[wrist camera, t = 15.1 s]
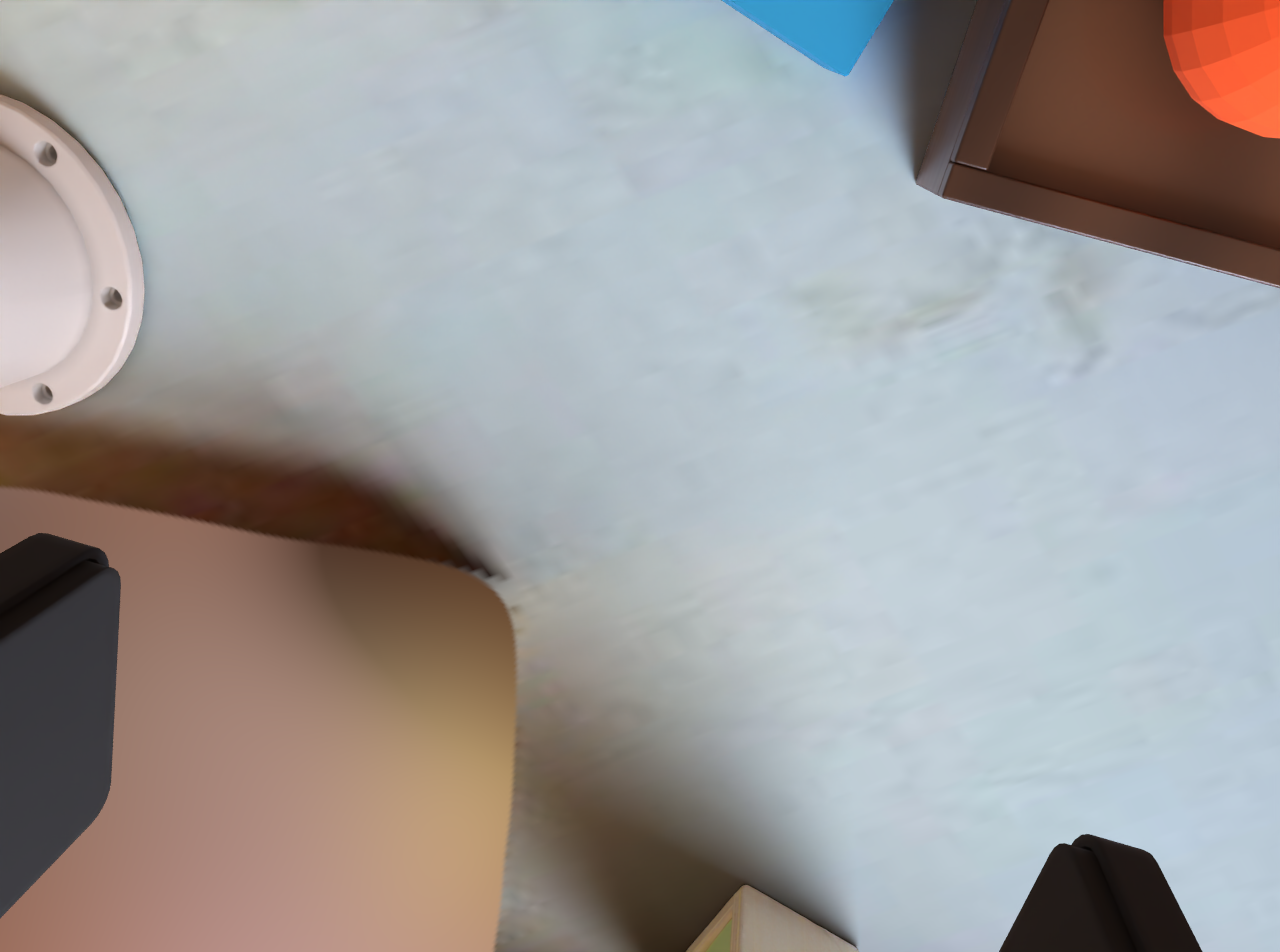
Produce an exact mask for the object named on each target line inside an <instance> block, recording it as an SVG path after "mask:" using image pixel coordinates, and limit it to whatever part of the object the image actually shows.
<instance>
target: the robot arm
mask: <svg viewBox="0 0 1280 952" xmlns="http://www.w3.org/2000/svg"><path fill="white" fill-rule="evenodd" d="M144 296H145V287H144V275H143V263H142V258H141V254H140V250H139V246H138V243H137V239H136V235H135V231H134V228H133V226H132V224H131V221H130V219H129V217H128V214H127V212H126V210H125V208H124V205H123V203H122V201H121V198H120V197H119V195H118V194H117V192H116V191H115V189H114V187H113V186H112V184H111V183H110V181H109V179H108V178H107V176H106V175H105V173H104V172H103V170H102V169H101V167H100V166H99V165H98V164H97V163H96V162H95V161H94V159H93V158H92V157H91V156H90V155H89V154H88V152H87V151H86V150H85V149H84V148H83V147H82V146H81V144H80V143H79V142H78V141H76V140H75V139H74V138H73V137H72V136H71V135H69V134H68V133H67V132H66V131H65V130H63V129H62V128H61V127H60V126H59V125H58V124H56V123H55V122H54V121H53V120H51V119H50V118H48V117H46V116H45V115H43V114H41V113H40V112H38V111H36V110H35V109H33V108H31V107H30V106H28V105H26V104H25V103H22V102H20V101H17V100H15V99H12V98H9V97H7V96H4V95H1V94H0V414H4V415H37V414H42V413H46V412H51V411H55V410H60V409H62V408H64V407H67V406H69V405H72V404H74V403H77V402H79V401H81V400H84V399H85V398H87V397H88V396H90V395H92V394H93V393H95V392H96V391H98V390H99V389H101V388H103V387H104V386H105V385H106V384H107V383H108V382H109V381H110V380H111V379H112V378H113V377H114V376H115V375H116V374H117V372H118V371H119V370H120V369H121V368H122V366H123V365H124V363H125V361H126V359H127V358H128V356H129V354H130V352H131V351H132V349H133V347H134V345H135V342H136V338H137V335H138V332H139V329H140V326H141V322H142V316H143V306H144ZM120 589H121V583H120V576H119V574H118V571H116V570H115V569H114V568H111V567H109V564H108V559H107V557H106V555H105V553H104V552H103V551H102V550H100V549H99V548H96V547H92V546H88V545H85V544H82V543H78V542H75V541H72V540H68V539H64V538H61V537H58V536H54V535H51V534H46V533H38V534H36V535H33V536H30V537H28V538H27V539H25V540H23V541H21V542H19V543H18V544H16V545H14V546H12V547H11V548H9V549H7V550H5V551H4V552H2V553H0V918H1V917H2V916H3V915H4V914H5V913H6V912H7V911H8V910H9V909H10V908H11V906H12V905H14V904H15V902H16V901H17V900H18V899H19V898H20V897H21V896H22V895H23V894H24V893H25V892H26V891H27V890H28V889H29V888H30V887H31V886H32V885H33V884H34V883H35V882H36V881H37V880H38V879H39V878H40V876H41V875H42V874H43V873H44V872H45V871H46V870H47V869H48V868H49V867H50V866H51V865H52V864H53V863H54V862H55V861H56V860H57V859H58V858H59V857H60V856H61V855H62V854H63V853H64V852H65V850H66V849H67V848H68V847H69V846H70V845H71V844H72V843H73V842H74V841H75V840H76V839H77V838H78V837H79V836H80V835H81V834H82V833H83V832H84V831H85V830H86V829H87V828H88V827H89V826H90V824H91V823H92V822H93V821H94V820H95V818H96V817H97V816H98V814H99V813H100V811H101V809H102V808H103V806H104V804H105V801H106V799H107V796H108V793H109V790H110V785H111V771H112V750H113V730H114V710H115V690H116V670H117V649H118V629H119V608H120ZM999 952H1202V950H1201V948H1200V946H1199V944H1198V942H1197V940H1196V938H1195V936H1194V934H1193V932H1192V930H1191V928H1190V926H1189V924H1188V922H1187V920H1186V918H1185V916H1184V914H1183V912H1182V910H1181V909H1180V907H1179V905H1178V903H1177V901H1176V899H1175V897H1174V895H1173V893H1172V891H1171V889H1170V887H1169V885H1168V883H1167V881H1166V879H1165V877H1164V875H1163V873H1162V871H1161V869H1160V867H1159V865H1158V863H1157V862H1156V860H1155V859H1154V857H1153V856H1152V855H1151V854H1150V853H1148V852H1146V851H1145V850H1142V849H1138V848H1135V847H1131V846H1128V845H1124V844H1121V843H1118V842H1114V841H1111V840H1107V839H1104V838H1100V837H1097V836H1093V835H1090V834H1085V835H1081V836H1080V837H1078V838H1077V839H1075V840H1074V842H1073V843H1072V845H1068V844H1065V843H1064V844H1059V845H1057V846H1056V847H1055V848H1054V849H1053V850H1052V852H1051V853H1050V855H1049V857H1048V859H1047V861H1046V863H1045V865H1044V867H1043V868H1042V870H1041V872H1040V874H1039V876H1038V878H1037V880H1036V882H1035V884H1034V886H1033V888H1032V890H1031V891H1030V893H1029V895H1028V897H1027V899H1026V901H1025V903H1024V905H1023V907H1022V909H1021V911H1020V913H1019V914H1018V916H1017V918H1016V920H1015V922H1014V924H1013V926H1012V928H1011V930H1010V932H1009V934H1008V936H1007V937H1006V939H1005V941H1004V943H1003V945H1002V947H1001V949H1000V951H999Z"/></svg>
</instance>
